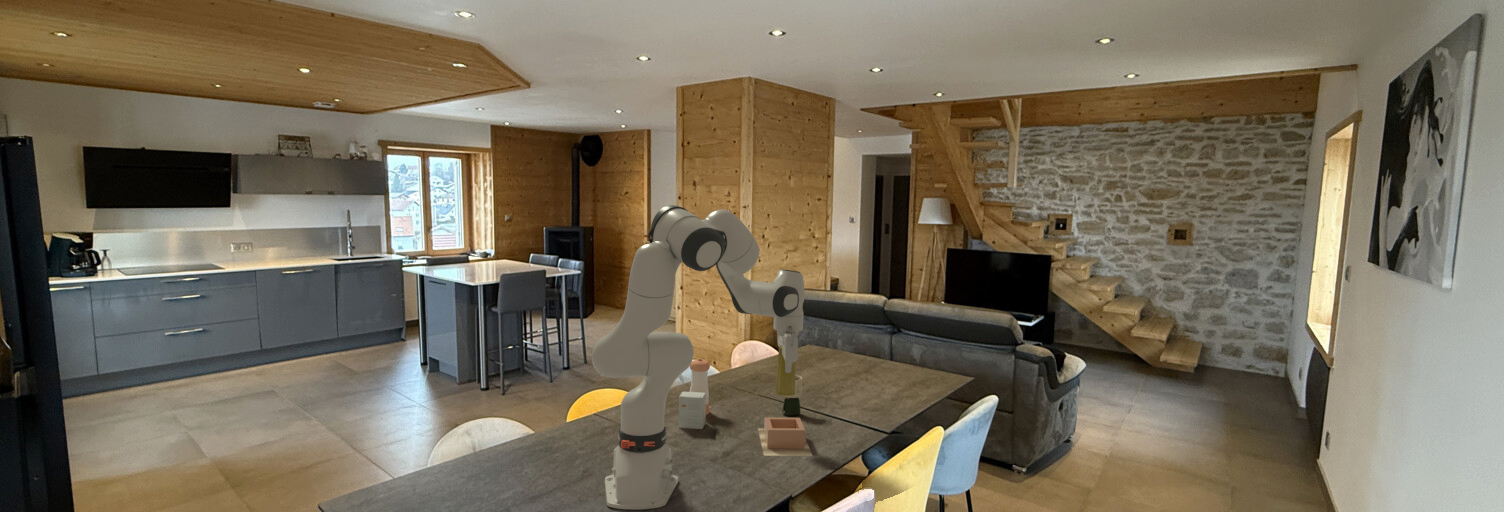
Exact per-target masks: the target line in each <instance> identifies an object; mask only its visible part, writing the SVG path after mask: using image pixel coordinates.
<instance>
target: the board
mask: <svg viewBox="0 0 1504 512" xmlns="http://www.w3.org/2000/svg"><path fill="white" fill-rule="evenodd" d="M757 431H758V432H757V433H758V435H759V440H760V444H761V449H762V454H763V456H764V457H768V456H769V457H812V456H813V454H812V451H811V448H810V446H809V444H808V441H807V439H806V438H805V447H804V448H767V445H766V441H765V437H764V428H757Z"/></svg>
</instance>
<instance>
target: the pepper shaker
mask: <svg viewBox="0 0 1504 512" xmlns="http://www.w3.org/2000/svg"><path fill="white" fill-rule="evenodd" d="M710 368H711V364H710V363H709V361H707V360H705V359H703V358H702V357H698V358H697V359H695V360H694V359H693V360H692V362H691V364H690V366H689V369H690V370H691V383H690V388H689V392H701V393H706V416H707V415H709V414H710V401H709V400H710V399H709V398H710V397H709V396H710V392H709V391H710V390H709V385H708V375H709V374H708V373H709V372H708V371H709V370H710Z"/></svg>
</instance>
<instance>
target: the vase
mask: <svg viewBox="0 0 1504 512" xmlns="http://www.w3.org/2000/svg"><path fill="white" fill-rule="evenodd" d="M792 346H793V345H792ZM777 357H778V359H777V367H776V368H777V369H776V379H775V380H776V381H775V389H774V394H776V395H778V396H783V397H784V396H792V395H794V394H795V375H796V364H797V363H796V362H797V361H796V362H793V363H792V368H791V373H786V372H785V360H784V357H783V355H782V347H781V345H780V346H779V347H778V355H777Z"/></svg>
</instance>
